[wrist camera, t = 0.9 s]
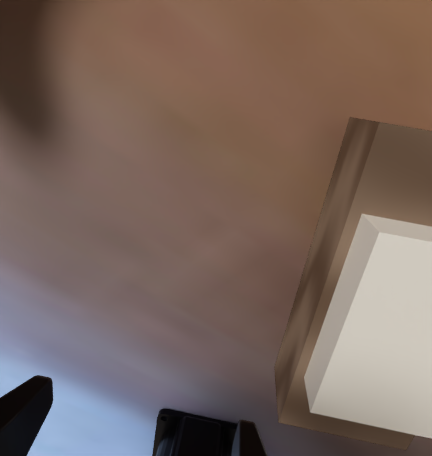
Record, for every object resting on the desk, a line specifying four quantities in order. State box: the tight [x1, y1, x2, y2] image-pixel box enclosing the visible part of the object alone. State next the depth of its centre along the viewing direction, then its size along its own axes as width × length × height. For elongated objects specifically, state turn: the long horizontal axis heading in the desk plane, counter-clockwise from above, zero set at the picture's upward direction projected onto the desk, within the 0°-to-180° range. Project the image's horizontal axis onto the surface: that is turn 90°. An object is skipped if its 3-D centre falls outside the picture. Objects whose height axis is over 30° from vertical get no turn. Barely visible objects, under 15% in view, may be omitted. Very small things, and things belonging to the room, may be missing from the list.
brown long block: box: [274, 117, 432, 450], centre depth 17 cm, size 16×7×4 cm, turn 171°
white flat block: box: [304, 214, 432, 439], centre depth 14 cm, size 9×6×2 cm, turn 171°
